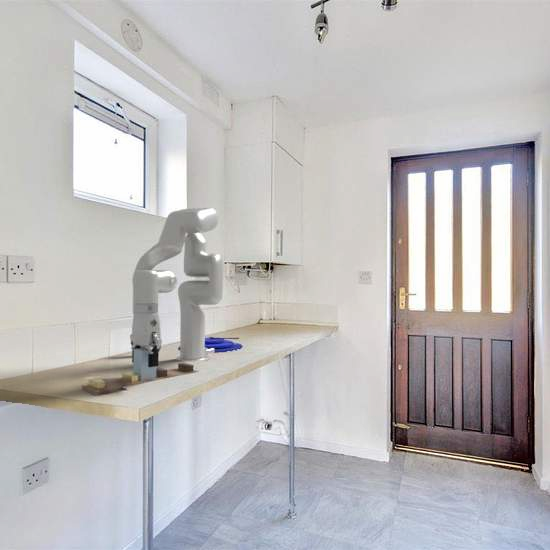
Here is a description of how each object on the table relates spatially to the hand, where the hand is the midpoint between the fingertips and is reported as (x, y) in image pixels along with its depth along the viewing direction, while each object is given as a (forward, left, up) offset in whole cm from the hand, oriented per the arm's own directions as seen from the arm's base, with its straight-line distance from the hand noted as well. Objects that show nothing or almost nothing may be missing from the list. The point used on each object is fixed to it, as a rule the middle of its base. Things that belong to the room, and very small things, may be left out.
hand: (145, 364), depth 123 cm
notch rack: (0, 0, -5) cm, 5 cm away
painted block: (0, 0, -4) cm, 4 cm away
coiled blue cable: (-55, -37, -6) cm, 67 cm away
